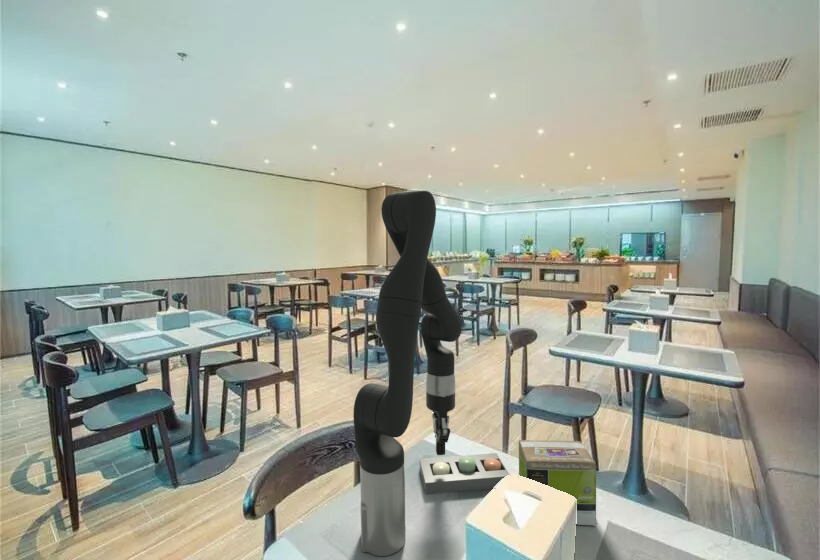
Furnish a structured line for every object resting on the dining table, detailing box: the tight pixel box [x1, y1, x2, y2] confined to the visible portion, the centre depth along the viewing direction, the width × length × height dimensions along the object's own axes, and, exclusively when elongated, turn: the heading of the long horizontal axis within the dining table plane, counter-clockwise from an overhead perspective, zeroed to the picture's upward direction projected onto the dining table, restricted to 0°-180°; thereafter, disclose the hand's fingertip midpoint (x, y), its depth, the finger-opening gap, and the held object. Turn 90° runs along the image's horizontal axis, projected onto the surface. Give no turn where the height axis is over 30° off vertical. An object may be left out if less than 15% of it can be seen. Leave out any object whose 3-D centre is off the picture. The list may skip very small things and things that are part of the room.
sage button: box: [459, 456, 475, 473], centre depth 102 cm, size 4×4×3 cm
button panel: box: [419, 452, 511, 495], centre depth 102 cm, size 22×11×3 cm, turn 96°
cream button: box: [433, 462, 450, 475], centre depth 101 cm, size 4×4×3 cm
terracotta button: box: [484, 458, 501, 471], centre depth 103 cm, size 4×4×3 cm
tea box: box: [518, 439, 597, 526], centre depth 89 cm, size 15×10×15 cm, turn 84°
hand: (440, 453), depth 100 cm, fingers closed
